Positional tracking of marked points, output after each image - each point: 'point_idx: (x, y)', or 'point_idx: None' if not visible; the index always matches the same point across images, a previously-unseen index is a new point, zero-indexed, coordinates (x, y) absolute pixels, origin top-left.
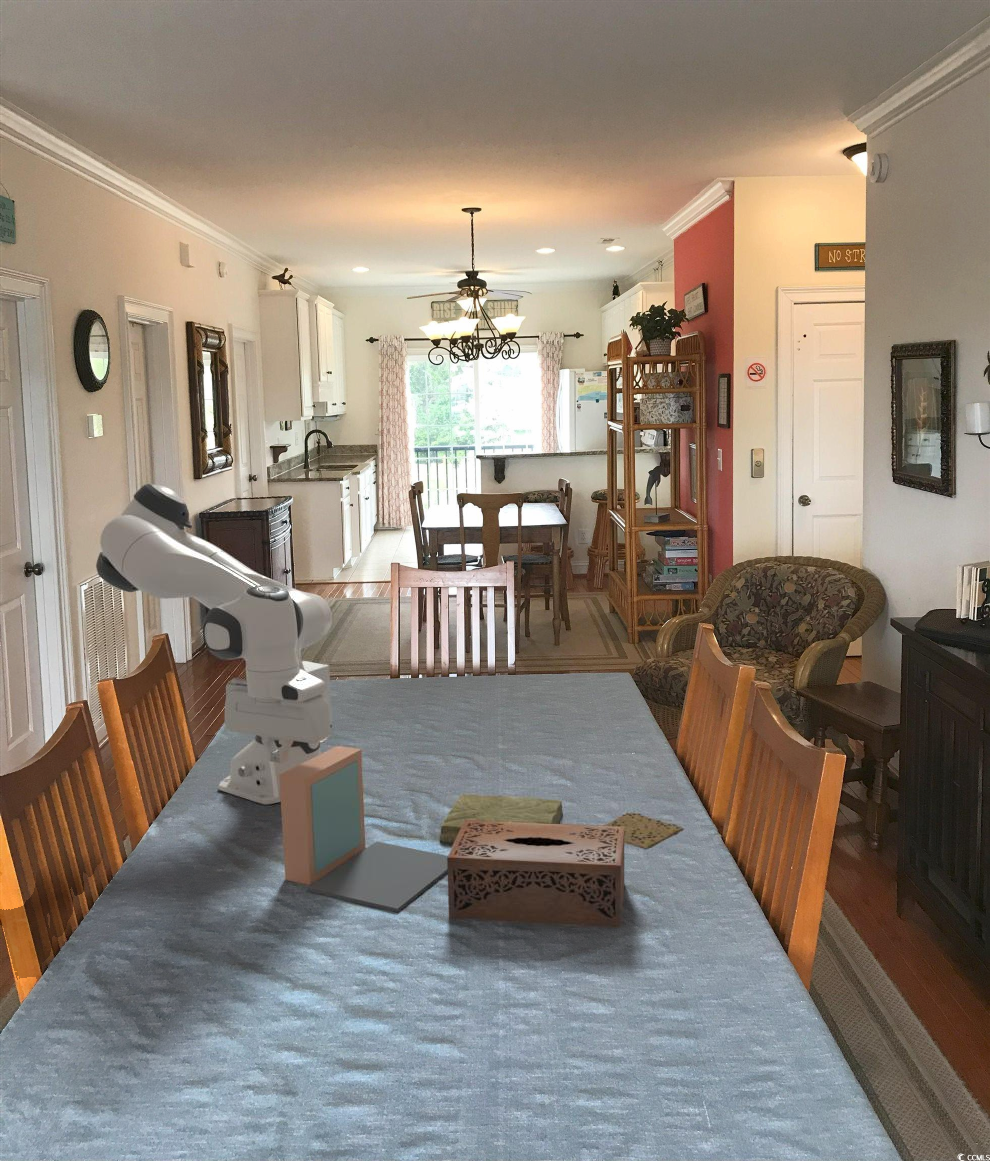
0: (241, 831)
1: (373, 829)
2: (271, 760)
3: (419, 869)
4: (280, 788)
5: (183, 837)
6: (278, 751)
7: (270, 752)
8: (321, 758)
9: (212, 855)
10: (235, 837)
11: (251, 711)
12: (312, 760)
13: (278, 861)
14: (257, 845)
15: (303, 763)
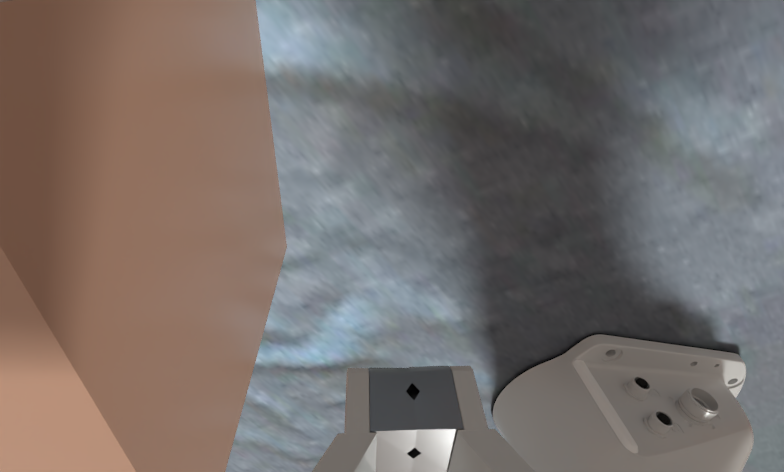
0: (586, 208)
1: (275, 325)
2: (447, 369)
3: None
4: (10, 2)
5: (751, 112)
6: (415, 454)
7: (463, 427)
8: (66, 469)
9: (602, 34)
10: (586, 171)
11: None
12: (78, 433)
13: (369, 84)
14: (496, 153)
15: (66, 378)
